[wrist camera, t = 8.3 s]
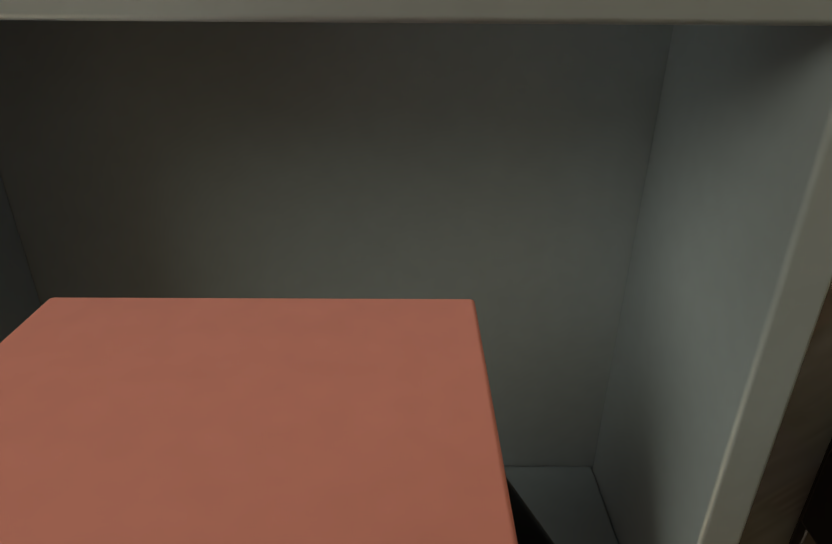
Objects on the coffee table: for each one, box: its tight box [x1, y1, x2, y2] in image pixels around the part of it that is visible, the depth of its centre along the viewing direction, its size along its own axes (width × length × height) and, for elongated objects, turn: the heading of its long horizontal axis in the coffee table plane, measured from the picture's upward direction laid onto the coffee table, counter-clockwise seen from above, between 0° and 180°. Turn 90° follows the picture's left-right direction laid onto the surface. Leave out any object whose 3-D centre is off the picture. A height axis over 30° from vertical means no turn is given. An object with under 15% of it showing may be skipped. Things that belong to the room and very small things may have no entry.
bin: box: [0, 0, 832, 544], centre depth 11 cm, size 14×12×6 cm
